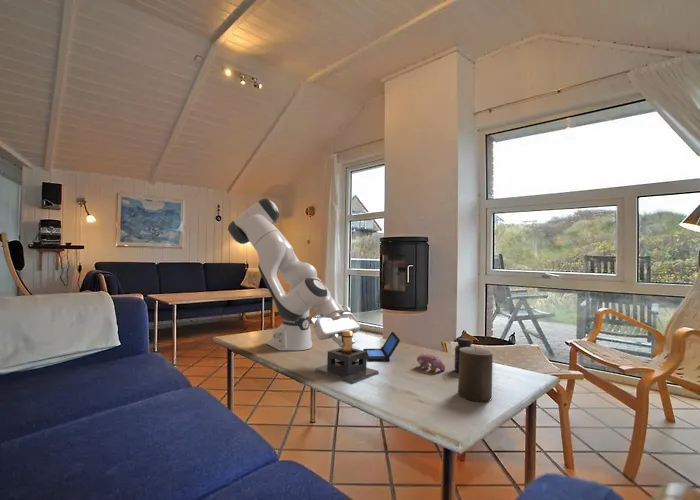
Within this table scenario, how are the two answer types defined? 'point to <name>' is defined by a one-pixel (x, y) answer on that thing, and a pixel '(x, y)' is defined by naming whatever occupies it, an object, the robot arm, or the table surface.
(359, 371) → the collar stand
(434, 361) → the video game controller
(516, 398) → the table surface
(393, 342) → the handheld game console
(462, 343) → the supplement bottle
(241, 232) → the robot arm
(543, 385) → the table surface
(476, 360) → the pillar candle
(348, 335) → the gold cylindrical bottle
